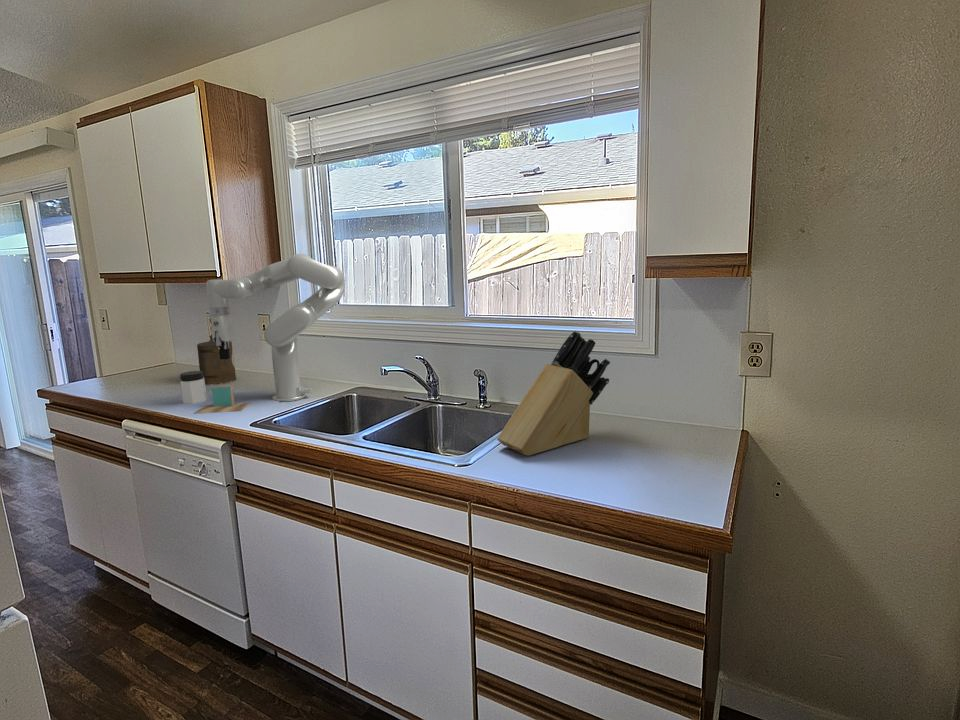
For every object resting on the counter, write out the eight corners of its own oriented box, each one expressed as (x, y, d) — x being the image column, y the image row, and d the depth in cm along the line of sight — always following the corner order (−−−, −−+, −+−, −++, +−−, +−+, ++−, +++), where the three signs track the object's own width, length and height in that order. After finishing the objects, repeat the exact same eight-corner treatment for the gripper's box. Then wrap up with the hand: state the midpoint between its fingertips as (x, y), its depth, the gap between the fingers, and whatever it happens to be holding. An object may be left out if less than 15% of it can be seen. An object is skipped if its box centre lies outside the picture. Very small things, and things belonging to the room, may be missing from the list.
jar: (186, 400, 223) (182, 371, 221) (208, 398, 225) (204, 369, 223) (181, 406, 215) (177, 376, 212) (204, 403, 217) (200, 374, 215)
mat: (251, 403, 214) (251, 402, 214) (240, 412, 202) (240, 411, 202) (206, 406, 213) (206, 404, 213) (193, 415, 201) (192, 413, 201)
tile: (234, 404, 212) (232, 385, 211) (232, 405, 210) (230, 386, 209) (215, 405, 212) (213, 386, 210) (213, 406, 210) (211, 387, 208)
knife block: (612, 432, 166) (613, 330, 160) (521, 460, 146) (519, 345, 140) (585, 423, 175) (585, 327, 169) (496, 449, 155) (493, 340, 149)
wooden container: (243, 378, 261) (237, 332, 257) (216, 385, 248) (210, 337, 244) (220, 376, 268) (215, 331, 263) (194, 383, 254) (187, 336, 250)
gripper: (222, 313, 205) (227, 362, 208) (237, 309, 219) (241, 355, 223) (201, 314, 204) (207, 362, 207) (217, 310, 219) (222, 355, 222)
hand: (225, 358), depth 215 cm, fingers closed
